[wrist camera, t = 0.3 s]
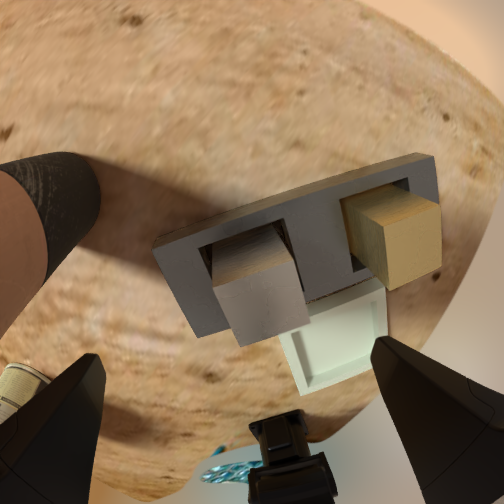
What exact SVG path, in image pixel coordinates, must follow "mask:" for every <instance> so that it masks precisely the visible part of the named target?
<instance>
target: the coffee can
mask: <svg viewBox="0 0 504 504" xmlns="http://www.w3.org/2000/svg"><path fill="white" fill-rule="evenodd" d="M50 382H51V381H50V380H49V379H48V378H47V377H45V376H44V375H43V374H41V373H40V372H38V371H36V370H35V369H33V368H31V367H29V366H26V365H23V364H20V363H10V364H8V365H7V366H6V367H5V370H4V372H3V373H2V375H1V377H0V424H1V423H2V422H4V421H5V420H6V419H7V418H9V417H10V416H11V415H12V414H13V413H14V412H17V410H18V409H19V408H20V407H22V406H23V405H24V404H25V403H26V402H27V401H29V400H30V399H31V398H32V397H33V396H35V395H36V394H37V393H38V392H39V391H40V390H42V389H43V388H44V387H45V386H46V385H48V384H49V383H50Z"/></svg>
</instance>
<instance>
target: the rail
mask: <svg viewBox="0 0 504 504" xmlns="http://www.w3.org/2000/svg"><path fill="white" fill-rule="evenodd" d="M390 182H393V185H394V186H395V187H398V188H401V189H403V190H406V191H408V192H411V193H413V194H415V195H418V196H420V197H423V198H425V199H427V200H430V201H432V202H434V203H436V204H439V196H438V186H437V176H436V168H435V161H434V156H430V155H426V154H421V153H413V154H409V155H405V156H402V157H398V158H394V159H391V160H387V161H384V162H380V163H376V164H373V165H370V166H366V167H363V168H359V169H356V170H352V171H349V172H346V173H343V174H339V175H336V176H333V177H329V178H326V179H323V180H320V181H317V182H313V183H310V184H307V185H304V186H301V187H298V188H295V189H292V190H289V191H286V192H283V193H280V194H277V195H274V196H271V197H268V198H265V199H262V200H259V201H256V202H253V203H250V204H247V205H244V206H241V207H239V208H236V209H233V210H230V211H227V212H225V213H222V214H219V215H216V216H213V217H211V218H208V219H205V220H203V221H200V222H197V223H194V224H192V225H189V226H186V227H184V228H181V229H178V230H176V231H173V232H171V233H168V234H165V235H163V236H160V237H158V238H157V239H156V241H155V243H154V245H153V247H152V249H151V251H152V253H153V255H154V257H155V259H156V261H157V263H158V265H159V267H160V269H161V271H162V273H163V275H164V277H165V279H166V281H167V283H168V285H169V287H170V289H171V291H172V293H173V295H174V297H175V298H176V300H177V302H178V304H179V306H180V308H181V310H182V311H183V313H184V315H185V317H186V319H187V321H188V322H189V324H190V326H191V328H192V330H193V331H194V333H195V335H196V337H197V338H200V337H204V336H207V335H210V334H214V333H217V332H220V331H223V330H226V329H230V328H231V327H230V325H229V323H228V321H227V318H226V316H225V314H224V312H223V310H222V308H221V306H220V304H219V301H218V299H217V297H216V295H215V293H214V291H213V288H212V265H211V263H210V260H209V258H208V256H207V253H206V251H205V248H204V246H205V245H207V244H210V243H213V242H216V241H219V240H221V239H224V238H227V237H230V236H233V235H235V234H238V233H241V232H244V231H247V230H250V229H253V228H255V227H258V226H261V225H264V224H267V223H270V222H273V221H276V220H279V219H280V221H281V225H282V228H283V231H284V234H285V238H286V241H287V245H288V248H289V251H290V255H291V257H292V258H293V260H294V264H295V267H296V271H297V274H298V278H299V281H300V285H301V288H302V292H303V296H304V299H305V303H306V302H308V301H311V300H314V299H316V298H319V297H322V296H324V295H327V294H330V293H332V292H335V291H337V290H340V289H342V288H345V287H348V286H350V285H353V284H355V283H358V282H360V281H362V280H365V279H367V278H370V277H372V276H375V275H374V274H373V273H372V272H371V271H370V270H369V269H368V268H367V267H366V266H365V265H364V264H363V263H362V262H360V261H359V260H358V259H357V258H356V257H355V256H354V255H353V256H351V257H350V252H349V246H348V241H347V236H346V231H345V226H344V221H343V216H342V211H341V207H340V202H339V199H341V198H344V197H347V196H350V195H353V194H356V193H359V192H362V191H365V190H369V189H372V188H375V187H378V186H381V185H384V184H387V183H390Z"/></svg>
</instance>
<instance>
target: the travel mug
mask: <svg viewBox="0 0 504 504" xmlns="http://www.w3.org/2000/svg"><path fill="white" fill-rule="evenodd" d="M99 209H100V189H99V184H98V181H97V178H96V176H95V174H94V172H93V171H92V169H91V168H90V166H89V165H88V164H87V163H86V162H85V161H84V160H83V159H81V158H80V157H78V156H77V155H75V154H72V153H68V152H53V153H48V154H42V155H38V156H33V157H29V158H24V159H20V160H16V161H12V162H8V163H4V164H0V339H1V338H2V336H3V335H4V334H5V332H6V331H7V330H8V328H9V327H10V326H11V324H12V323H13V322H14V320H15V319H16V318H17V317H18V315H19V314H20V313H21V312H22V310H23V309H24V308H25V307H26V305H27V304H28V303H29V302H30V301H31V299H32V298H33V297H34V296H35V295H36V293H37V292H38V291H39V290H40V288H41V287H42V286H43V285H44V283H45V282H46V281H47V280H48V278H49V277H50V276H51V275H52V273H53V272H54V271H55V270H56V268H57V267H58V266H59V265H60V264H61V262H62V261H63V260H64V259H65V258H66V257H67V255H68V254H69V253H70V252H71V251H72V250H73V248H74V247H75V246H76V245H77V244H78V243H79V242H80V241H81V239H82V238H83V237H84V236H85V235H86V234H87V233H88V231H89V230H90V229H91V227H92V226H93V225H94V223H95V221H96V219H97V216H98V213H99Z"/></svg>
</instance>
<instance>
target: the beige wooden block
mask: <svg viewBox="0 0 504 504" xmlns="http://www.w3.org/2000/svg"><path fill="white" fill-rule="evenodd" d="M339 202H340V207H341V211H342V216H343V221H344V226H345V231H346V236H347V241H348V246H349V251H350V252H351V253H352V254H353V255H354V256H355V257H356V258H357V259H358V260H359V261H360V262H362V263H363V264H364V265H365V266H366V267H367V268H368V269H369V270H370V271H371V272H372V273H373V274H374V275H375V276H376V277H377V278H378V279H379V281H380V282H381V283H382V284H383V285H384V286H385V287H386V288H387V289H388V290H389V291H391V290H393V289H396V288H398V287H400V286H402V285H404V284H406V283H409V282H411V281H413V280H415V279H417V278H419V277H421V276H423V275H425V274H427V273H429V272H432V271H434V270H436V269H438V268H440V267H442V230H441V209H440V205H439V204H436V203H434V202H432V201H430V200H427V199H425V198H423V197H420V196H418V195H415V194H413V193H411V192H408V191H406V190H403V189H401V188H398V187H395V186H393V185H390V184H388V183H387V184H384V185H381V186H378V187H375V188H372V189H369V190H365V191H362V192H359V193H356V194H353V195H350V196H347V197H344V198H341V199H339Z"/></svg>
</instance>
